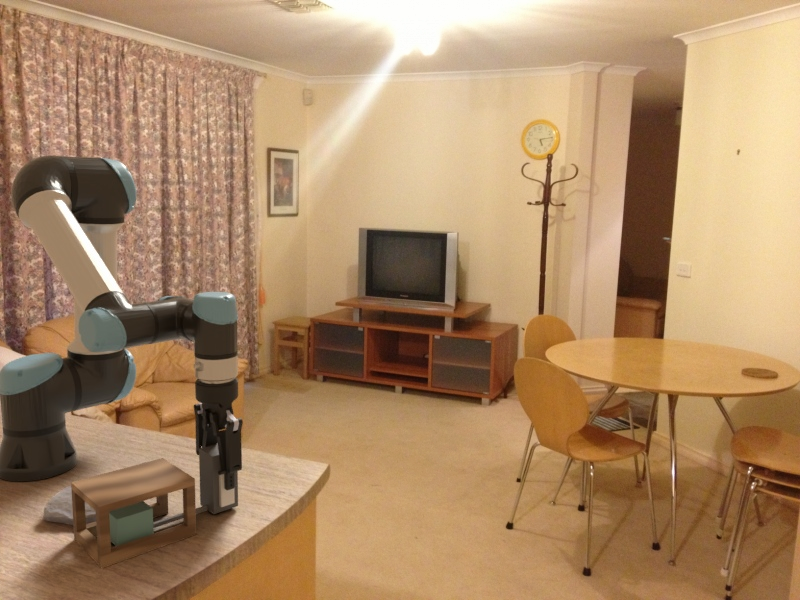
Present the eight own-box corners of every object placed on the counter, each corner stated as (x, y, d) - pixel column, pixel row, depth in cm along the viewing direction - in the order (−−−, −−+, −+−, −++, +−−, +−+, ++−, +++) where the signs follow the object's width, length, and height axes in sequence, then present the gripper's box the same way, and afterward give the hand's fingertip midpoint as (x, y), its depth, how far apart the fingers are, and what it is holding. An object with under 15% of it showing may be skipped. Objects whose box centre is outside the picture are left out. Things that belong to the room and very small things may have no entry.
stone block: (107, 536, 121) (126, 500, 131) (103, 513, 120) (122, 479, 129) (38, 538, 121) (62, 502, 130) (33, 516, 119) (57, 481, 128)
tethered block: (104, 534, 117) (101, 473, 115) (223, 496, 132) (222, 441, 130) (118, 548, 112) (115, 484, 111) (239, 506, 128) (238, 450, 126)
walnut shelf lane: (74, 539, 116) (71, 482, 115) (164, 510, 127) (162, 457, 126) (102, 568, 108) (98, 506, 106) (196, 534, 119) (194, 478, 117)
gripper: (174, 371, 128) (177, 489, 132) (223, 393, 115) (226, 523, 119) (210, 364, 133) (213, 478, 137) (262, 385, 121) (263, 509, 124)
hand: (219, 498), depth 128 cm, fingers closed on tethered block, 5 cm apart
